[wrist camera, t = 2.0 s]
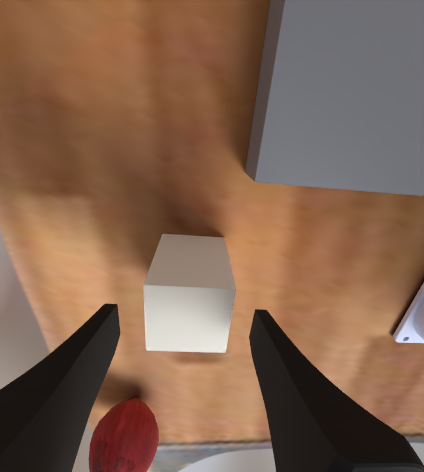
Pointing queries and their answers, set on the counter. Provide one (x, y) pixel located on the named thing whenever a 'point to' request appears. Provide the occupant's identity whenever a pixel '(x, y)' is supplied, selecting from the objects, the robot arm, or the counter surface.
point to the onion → (124, 439)
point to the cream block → (189, 295)
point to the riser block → (341, 96)
